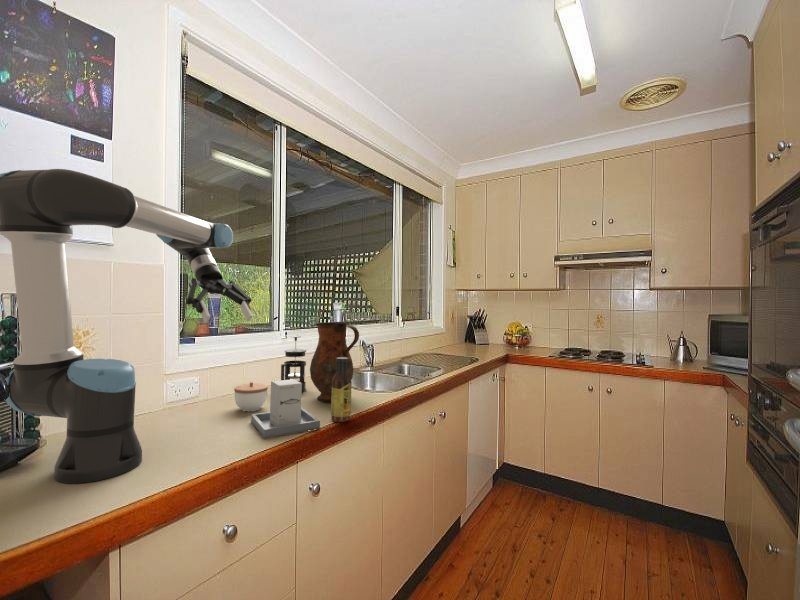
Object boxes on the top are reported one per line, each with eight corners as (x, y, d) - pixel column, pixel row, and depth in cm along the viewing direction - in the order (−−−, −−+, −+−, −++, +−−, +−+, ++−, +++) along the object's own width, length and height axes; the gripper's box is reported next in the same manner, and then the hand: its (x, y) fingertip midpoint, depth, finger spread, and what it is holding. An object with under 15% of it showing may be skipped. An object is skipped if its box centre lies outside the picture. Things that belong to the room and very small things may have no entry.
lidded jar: (249, 403, 137) (249, 377, 137) (273, 407, 133) (274, 380, 133) (226, 411, 127) (227, 383, 127) (252, 415, 123) (253, 386, 123)
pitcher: (329, 392, 157) (331, 320, 157) (370, 400, 145) (371, 322, 145) (299, 400, 143) (300, 321, 143) (340, 410, 131) (342, 324, 131)
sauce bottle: (346, 424, 116) (348, 359, 117) (327, 422, 118) (329, 358, 118) (353, 417, 123) (354, 357, 123) (335, 416, 124) (336, 356, 124)
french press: (297, 386, 165) (298, 334, 165) (311, 390, 159) (313, 335, 159) (274, 391, 155) (275, 336, 155) (289, 395, 150) (290, 337, 150)
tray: (264, 438, 102) (264, 429, 102) (251, 422, 116) (251, 414, 116) (319, 429, 111) (320, 420, 111) (301, 414, 124) (302, 407, 124)
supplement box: (276, 429, 108) (277, 385, 109) (269, 422, 115) (270, 380, 115) (301, 424, 113) (302, 382, 113) (293, 418, 119) (294, 378, 119)
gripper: (237, 282, 136) (260, 325, 127) (161, 277, 116) (182, 329, 107) (246, 267, 133) (270, 310, 124) (169, 259, 113) (192, 311, 104)
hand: (229, 319), depth 116 cm, fingers open, 13 cm apart
